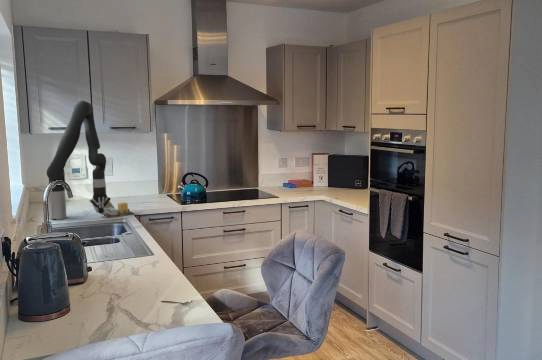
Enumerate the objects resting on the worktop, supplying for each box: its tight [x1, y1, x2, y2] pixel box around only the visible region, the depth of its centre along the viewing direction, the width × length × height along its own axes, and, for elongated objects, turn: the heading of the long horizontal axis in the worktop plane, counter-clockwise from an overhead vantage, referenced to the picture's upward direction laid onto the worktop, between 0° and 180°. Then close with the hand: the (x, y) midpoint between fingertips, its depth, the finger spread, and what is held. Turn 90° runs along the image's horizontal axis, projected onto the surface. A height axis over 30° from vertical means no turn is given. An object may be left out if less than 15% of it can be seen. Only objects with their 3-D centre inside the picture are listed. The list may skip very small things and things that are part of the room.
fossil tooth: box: [92, 199, 115, 213], centre depth 327 cm, size 12×6×15 cm
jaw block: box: [117, 201, 129, 213], centre depth 318 cm, size 5×5×6 cm
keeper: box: [104, 207, 118, 215], centre depth 314 cm, size 4×10×3 cm, turn 39°
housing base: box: [101, 208, 134, 219], centre depth 317 cm, size 16×10×3 cm, turn 129°
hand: (100, 213), depth 310 cm, fingers closed
